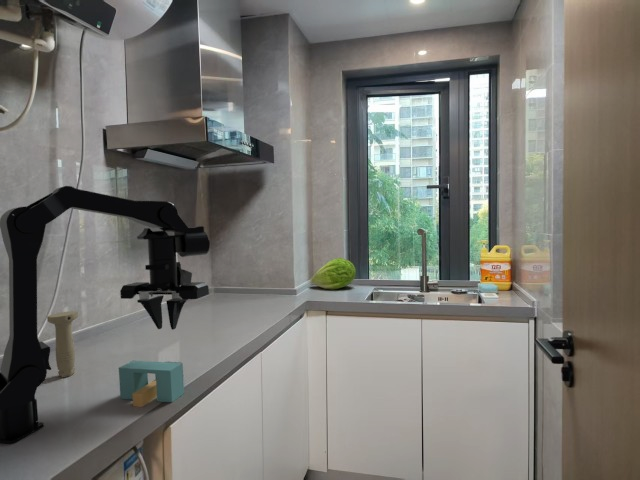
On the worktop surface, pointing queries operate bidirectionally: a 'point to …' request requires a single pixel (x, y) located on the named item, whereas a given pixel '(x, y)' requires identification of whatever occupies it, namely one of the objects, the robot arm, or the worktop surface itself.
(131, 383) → the housing
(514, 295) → the worktop surface
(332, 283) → the lettuce
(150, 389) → the plug
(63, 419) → the worktop surface
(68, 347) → the handle
